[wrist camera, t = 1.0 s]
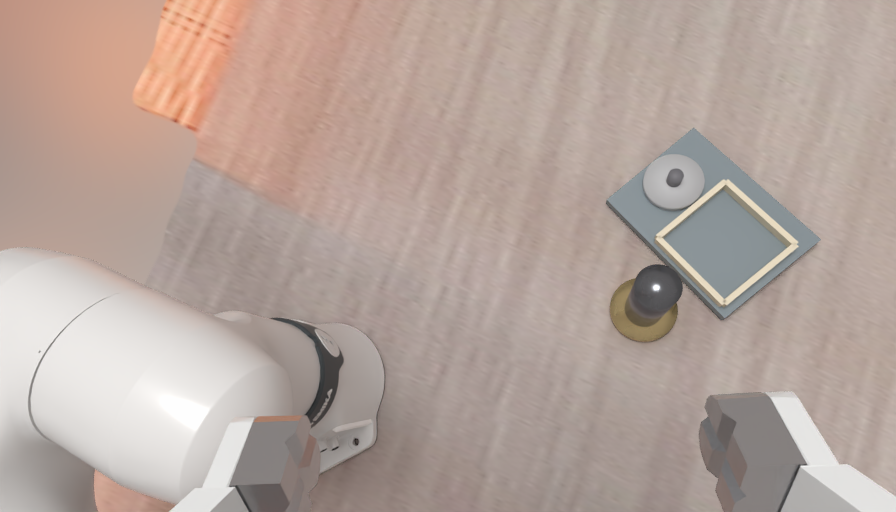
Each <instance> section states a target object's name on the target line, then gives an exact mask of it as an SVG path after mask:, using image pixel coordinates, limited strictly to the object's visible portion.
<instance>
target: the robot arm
mask: <svg viewBox="0 0 896 512" xmlns="http://www.w3.org/2000/svg"><path fill="white" fill-rule="evenodd" d="M384 381H385V380H384V368H383V363H382V360H381V357H380V355H379V352H378V350H377V349H376V347H375V345H374V344H373V343H372V341H371V340H370V339H369V338H368V337H367V336H366V335H365V334H364V333H362V332H361V331H360V330H358V329H356V328H354V327H352V326H349V325H346V324H341V323H325V324H312V323H309V322H306V321H303V320H294V319H293V320H289V319H286V318H265V317H261V316H257V315H254V314H250V313H246V312H242V311H226V312H221V313H217V314H215V315H211V314H209V313H206V312H204V311H202V310H199V309H197V308H195V307H193V306H190V305H188V304H186V303H184V302H181V301H179V300H177V299H175V298H173V297H171V296H169V295H166V294H165V293H162V292H160V291H157V290H153V289H151V288H149V287H147V286H145V285H143V284H140V283H138V282H137V281H135V280H133V279H130V278H128V277H126V276H124V275H122V274H120V273H118V272H116V271H114V270H112V269H110V268H108V267H106V266H104V265H102V264H99V263H98V262H96V261H93V260H90V259H87V258H83V257H79V256H74V255H70V254H66V253H61V252H56V251H49V250H44V249H38V248H29V247H24V248H23V247H21V248H12V249H7V250H3V251H0V512H98V510H97V506H96V502H95V494H94V472H95V469H96V470H98V471H99V472H101V473H102V474H104V475H105V476H107V477H108V478H110V479H111V480H113V481H114V482H116V483H117V484H119V485H121V486H123V487H125V488H128V489H130V490H133V491H136V492H138V493H141V494H144V495H147V496H150V497H152V498H155V499H158V500H162V501H165V502H168V503H171V504H175V505H176V506H175V507H174V508H173V509H171V510H170V511H169V512H311V508H312V502H311V500H310V497H309V495H308V493H309V492H310V491H311V490H312V489H313V488H314V487H315V486H316V485H317V483H318V478H319V474H321V473H323V472H325V471H327V470H329V469H331V468H332V467H334V466H336V465H338V464H340V463H342V462H344V461H346V460H347V459H349V458H351V457H353V456H355V455H357V454H359V453H361V452H362V451H364V450H366V449H368V448H370V447H371V446H373V445H374V443H375V441H376V437H377V421H376V416H377V412H378V408H379V405H380V402H381V399H382V396H383V391H384ZM705 410H706V412H707V414H708V417H707V418H706V419H704V420H703V421H702V422H701V425H700V430H699V442H700V449H701V453H702V457H703V460H704V463H705V465H706V468H707V470H708V471H709V472H711V473H712V474H713V475H714V476H715V477H717V478H718V483H717V486H716V490H715V491H716V493H717V496H718V498H719V501H720V503H721V506H722V508H723V511H724V512H896V496H894V495H893V494H891V493H890V492H889V491H887V490H886V489H884V488H883V487H881V486H880V485H878V484H877V483H875V482H874V481H872V480H871V479H869V478H868V477H866V476H865V475H864V474H862V473H861V472H859V471H858V470H856V469H855V468H853V467H852V466H850V465H849V464H839V462H838V461H837V459H836V457H835V456H834V454H833V453H832V451H831V449H830V448H829V446H828V445H827V443H826V441H825V440H824V438H823V437H822V435H821V433H820V432H819V430H818V429H817V427H816V425H815V424H814V422H813V421H812V419H811V417H810V416H809V414H808V413H807V411H806V410H805V408H804V406H803V405H802V403H801V402H800V400H799V398H798V397H797V395H795V394H794V393H793V392H791V391H784V392H764V393H761V392H754V393H737V394H721V395H710V396H709V397H708V398H707V401H706V404H705ZM356 438H357V439H358V440H359V444H358V445H356V444H355V439H356Z"/></svg>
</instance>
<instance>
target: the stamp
mask: <svg viewBox="0 0 896 512" xmlns="http://www.w3.org/2000/svg"><path fill="white" fill-rule="evenodd" d="M682 289H683V287H682V281H681V279H680V277H679V275H678V274H677V273H676V272H675V271H674V270H673V269H671V268H670V267H667V266H665V265H651V266H648V267H646V268H644V269H643V270H641V271H640V273H639V274H638V275H637V277H636V278H635V279H631V280H629V281H627V282H625V283H623V284H622V285H621V286H620V287H619V288H618V289H617V290H616V291H615V293H614V295H613V297H612V300H611V304H610V315H611V319H612V321H613V324H614V325H615V327H616V328H617V329H618V331H619V332H620V333H621V334H623V335H624V336H626V337H627V338H629V339H632V340H635V341H639V342H650V341H654V340H657V339H659V338H661V337H663V336H664V335H665V334H667V333H668V332H669V331H670V330H671V328H672V327H673V325H674V324H675V321H676V318H677V312H678V311H677V303H676V302H677V301H678V300H679V298H680V297H681V294H682Z"/></svg>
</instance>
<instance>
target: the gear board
mask: <svg viewBox="0 0 896 512" xmlns="http://www.w3.org/2000/svg"><path fill="white" fill-rule="evenodd" d="M606 204H607V205H608V206H609V207H610V208H611V209H612V210H613V211H614V212H615V213H616V214H617V215H618V216H619V217H620V218H621V219H622V220H623V221H624V222H625V223H626V224H627V225H628V226H629V227H630V228H631V229H632V230H633V231H634V232H635V233H636V235H637V236H638V237H639V238H640V239H641V240H642V241H643V242H644V243H645V244H646V245H647V246H648V247H649V248H650V249H651V250H652V251H653V252H654V253H655V254H656V255H657V256H658V257H659V258H660V259H661V260H662V261H663V262H664V263H665V264H666V265H667V266H668V267H670V268H671V269H673V270H674V271H675V272H676V273H677V274H678V275H679V277H680V279H681V280H682V281H683V282H684V283H685V284H686V285H687V286H688V287H689V288H690V289H691V290H692V291H693V292H694V293H695V294H696V295H697V296H698V297H699V298H700V299H701V300H702V301H703V302H704V303H705V304H706V305H707V306H708V307H709V308H710V309H711V310H712V311H713V312H714V313H715V314H716V315H717V316H718V317H719V318H720V319H721V320H723V319H725V318H726V317H727V316H728V315H729V314H731V313H732V312H733V311H734V310H736V309H737V308H738V307H739V306H740V305H742V304H743V303H744V302H745V301H747V300H748V299H749V298H750V297H751V296H753V295H754V294H755V293H756V292H758V291H759V290H760V289H761V288H762V287H764V286H765V285H766V284H767V283H769V282H770V281H771V280H772V279H773V278H775V277H776V276H777V275H778V274H780V273H781V272H782V271H783V270H784V269H786V268H787V267H788V266H789V265H791V264H792V263H793V262H794V261H795V260H797V259H798V258H799V257H800V256H802V255H803V254H804V253H805V252H806V251H808V250H809V249H810V248H811V247H813V246H814V245H815V244H816V243H817V242H819V241H820V240H821V239H820V238H819V237H818V236H816V235H815V234H814V233H813V232H812V231H811V230H810V229H808V228H807V227H806V226H805V225H804V224H803V223H802V222H800V221H799V220H798V219H797V218H796V217H795V216H794V215H792V214H791V213H790V212H789V211H788V210H787V209H786V208H785V207H783V206H782V205H781V204H780V203H779V202H778V201H777V200H775V199H774V198H773V197H772V196H771V195H770V194H769V193H767V192H766V191H765V190H764V189H763V188H762V187H761V186H759V185H758V184H757V183H756V182H755V181H754V180H753V179H751V178H750V177H749V176H748V175H747V174H746V173H745V172H744V171H742V170H741V169H740V168H739V167H738V166H737V165H736V164H734V163H733V162H732V161H731V160H730V159H729V158H728V157H726V156H725V155H724V154H723V153H722V152H721V151H720V150H718V149H717V148H716V147H715V146H714V145H713V144H712V143H710V142H709V141H708V140H707V139H706V138H705V137H704V136H703V135H701V134H700V133H699V132H698V131H697V130H696V129H695V128H693V129H692V130H690V131H689V132H688V133H687V134H686V135H684V136H683V137H682V138H681V139H680V140H678V141H677V142H676V143H675V144H673V145H672V146H671V147H670V148H669V149H667V150H666V151H665V152H664V153H663V154H661V155H660V156H659V157H658V158H657V159H655V160H654V161H653V162H652V163H651V164H649V165H648V166H647V167H646V168H645V169H643V170H642V171H641V172H640V173H639V174H637V175H636V176H635V177H634V178H632V179H631V180H630V181H629V182H628V183H626V184H625V185H624V186H623V187H622V188H620V189H619V190H618V191H617V192H616V193H614V194H613V195H612V196H611V197H610V198H608V199H607V202H606Z"/></svg>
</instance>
